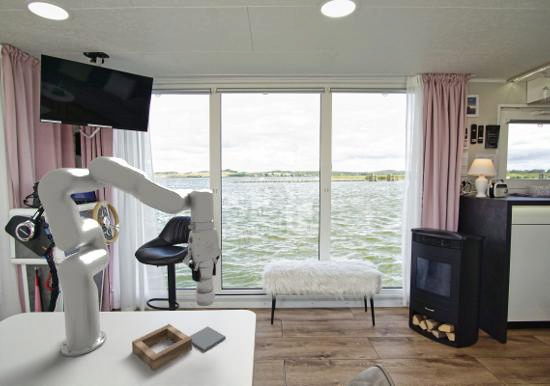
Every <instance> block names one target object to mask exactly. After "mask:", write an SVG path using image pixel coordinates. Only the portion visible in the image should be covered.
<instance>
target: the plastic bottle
mask: <svg viewBox="0 0 550 386" xmlns="http://www.w3.org/2000/svg"><path fill="white" fill-rule="evenodd" d="M195 263H196V262H195ZM213 265H214V261H213V259H209V260H206V261H203V262H200V263H199V266H198V270H199V275H200V281H199V282H196V287H195V288H196V289H195V290H196V292H195V298H194V299H195V303H196V305H198V306H200V307H208V306H211V305H213V304H214V302H215V300H216V293H215V289H214V282H213V278H214V277H213ZM194 266H195V265H194Z"/></svg>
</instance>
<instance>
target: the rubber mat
mask: <svg viewBox="0 0 550 386" xmlns="http://www.w3.org/2000/svg"><path fill="white" fill-rule="evenodd" d="M189 337H190V338H192V346H195V347H196V348H197V349H200V350H201V351H202V352H204V353H205V352H206V351H208V350H210V349H211V348H213V347H215V346H217V344H219V343H221V342H223V341H224V340H225V339H226V335H224V334H222V333H221V332H219V331H216V330H215V329H213V328H211V327H209V326H206V327H204V328H202V329H200V330H198V331H197V332H195V333H193V334H191V335H189Z"/></svg>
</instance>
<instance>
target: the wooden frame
mask: <svg viewBox="0 0 550 386" xmlns="http://www.w3.org/2000/svg"><path fill="white" fill-rule="evenodd" d="M189 336H190V335H189ZM189 336H188V335H187V334H185V332H182V331H181V330H179V329H177V328H176V327H175V326H173V325H171V324H170V323H168V324H166V325H164V326H162V327H160V328H158V329H155V330H154V331H152V332H149V333H147V334H145V335H142V336H140V337H139V338H137V339H135V340H132V341H131V347H132V348H131V349H132V353H133V354H134V355H135V356H136V357H137V358H138V359H140V360H141V361H142V362H143V363H144V364H145V365H146V366H147V367H148V368H149V369H151V371H153V372H155V371H156V370H159V369H160V368H162V367H164V366H165V365H168V364H169V363H171V362H172V361H174V360H175V359H177V358H179V357H181V356H182V355H185V353H187V352H189V351H190V350H193V344H192V338H190V337H189ZM166 339H168V340H170V341H171V342H172V343H173V344H172V345H169V346H168V347H166V348H164V349H162V350H160V351H159V352H155V351H154V350H153V349H152V348H150V347H152V346H154V345H157V344H158V343H161V342H162V341H165V340H166Z"/></svg>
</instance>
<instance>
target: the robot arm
mask: <svg viewBox="0 0 550 386" xmlns="http://www.w3.org/2000/svg"><path fill="white" fill-rule="evenodd" d="M105 187H112V188H113V189H116V190H119V191H121V192H123V193H125V194H128V195H131V196H132V197H133V198H134V199H136V200H138V201H139V202H140V203H142V204H143V205H145V206H148V207H150V208H152V209H154V210H157V211H160V212H162V213H164V214H167V215H168V214H169V215H177V214H180V213H182V212H184V211H188V210H190V224H189V225H188V226H187V228H188V229H189V230H190V231H189V233H188V234H189V235H188V240H187V254H186V255H185V257H184V258H183V260H182V264H185V266H187V267H188V268H189V269H190V270H191V278H192V281H194V282H196V283H197V282H199V281H200V275H199V270H198V266H199V263H200V262H203V261H206V260H209V259H213V261H214V265H213V276H214V277H215V276H216V275H217V264H218V261H219V259H220V256H221V255H222V253H223V250H222V249H221V248H220V241H219V240H220V239H219V235H218V230H217V228H215V212H214V211H215V210H214V208H215V207H214V192H213V191H212V190H211V189H204V188H201V189H187V188H185V189H184V188H179V189H170V188H168V187H165V186H163V185H161V184H158V183H156V182H155V181H152V180H151V179H150V178H149V177H148V174H147V173H146V172H145V171H142V170H141V169H139V168H136V167H133V166H131V165H129V164H128V163H127V162H126V161H125V160H124V159H123V158H120V157H113V156H97V157H95V158H94V159H92V160H91V161H90V162H89V163H88V167H85V168H84V167H83V168H82V167H60V168H55V169H52V170H50V171H48V172H46V173H45V174H44V175H43V176H42V177H41V178H40V180H39V182H38V186H37V196H38V199H39V201H40V203H41V205H42V208H43V210H44V213H45V215H46V219H47V222H48V226H49V230H50V233H51V236H52V239H53V243H54V244H55V246H56V248H57V249H58V250H59V251H62V252H71V251H72V252H73V251H75V250H78V249H79V251H78V252H76V253H73V254H71V255H69V256H68V257H66V258H65V259H63V261H61V262H60V264H59V266H58V267H57V278H58V281H59V284H60V286H61V293H62V299H63V300H62V301H63V313H64V327H65V328H64V329H65V340H66V341H65V342H64V343H62V344H61V347H60V352H61V353H60V354H62V355H63V356H67V357H75V356H81V355H84V354H88V353H90V352H93V351H94V350H96V349H98V348H99V347H100V346H102V345H103V344H104V343H105V342H106V339H107V334H106V332H104V331H102V330H101V319H100V315H101V314H100V300H99V290H98V285H97V284H96V282H95V280H94V276H96V275H97V274H98V273H100V272H101V271H103V270H105V269H106V268H107V267H108V266H109V264H110V260H111V258H110V257H111V256H110V251H109V247H108V244H107V240H106V236H105V233H104V231H103V228H102V226H101V224H100V223H99V222H98V220H95V219H94V218H89V217H83V218H82V217H81V214H80V210H79V207H78V205H77V204H76V202H75V201H74V199H72V197H71V195H73V194H81V193H90V192H94V191H97V190H100V189H103V188H105ZM190 261H191V262H190ZM195 262H196V263H195ZM194 265H195V266H194Z"/></svg>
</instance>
